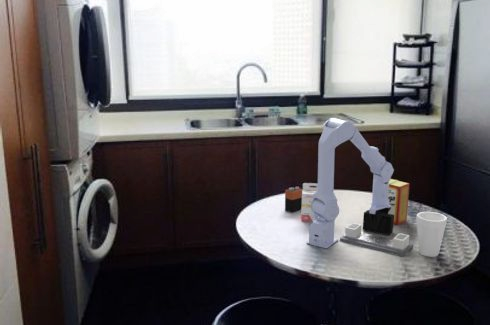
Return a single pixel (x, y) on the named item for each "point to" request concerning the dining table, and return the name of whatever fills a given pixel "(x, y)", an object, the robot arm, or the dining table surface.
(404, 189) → the baking soda box
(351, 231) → the mounted modules
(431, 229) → the foam cup
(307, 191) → the ink cartridge box
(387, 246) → the rail panel
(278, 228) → the dining table surface
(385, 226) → the digital camera
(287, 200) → the battery
